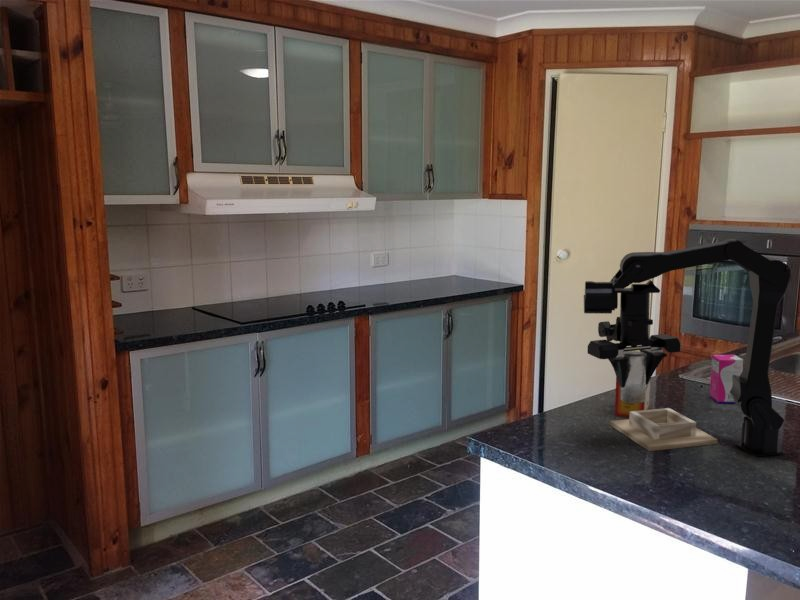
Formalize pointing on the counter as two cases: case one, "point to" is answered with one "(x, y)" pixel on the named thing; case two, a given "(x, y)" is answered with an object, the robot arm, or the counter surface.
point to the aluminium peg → (635, 378)
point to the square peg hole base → (662, 430)
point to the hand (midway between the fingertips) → (633, 385)
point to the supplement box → (724, 377)
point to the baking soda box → (625, 407)
